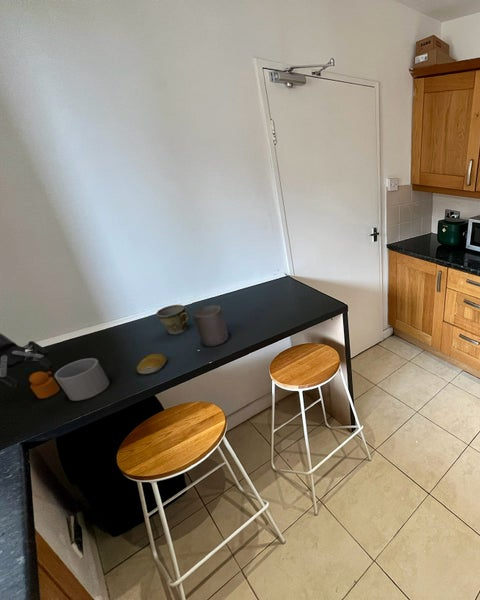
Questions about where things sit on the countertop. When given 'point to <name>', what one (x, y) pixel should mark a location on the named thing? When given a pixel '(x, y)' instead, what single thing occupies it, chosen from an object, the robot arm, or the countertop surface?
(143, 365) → the bread roll
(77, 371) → the pot
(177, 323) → the ceramic cup
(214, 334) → the grey canister
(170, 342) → the countertop surface
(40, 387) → the duck
